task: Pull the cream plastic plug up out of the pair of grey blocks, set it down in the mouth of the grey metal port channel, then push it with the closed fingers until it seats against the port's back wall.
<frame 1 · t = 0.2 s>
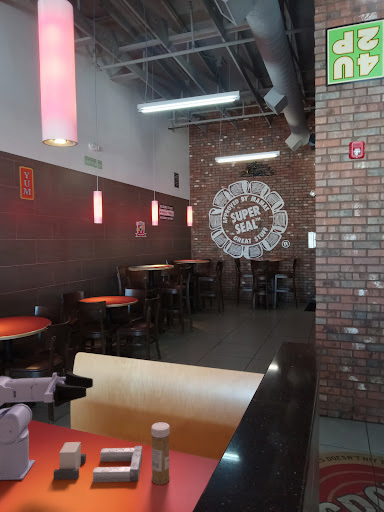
hand: (89, 387, 96), 21 cm above the table, tool horizontal, fingers open, 7 cm apart
pair of grey blocks: (70, 469, 96), on the table
sprinkles bottle: (160, 480, 92), on the table
plug: (70, 470, 96), on the table
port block: (117, 468, 96), on the table
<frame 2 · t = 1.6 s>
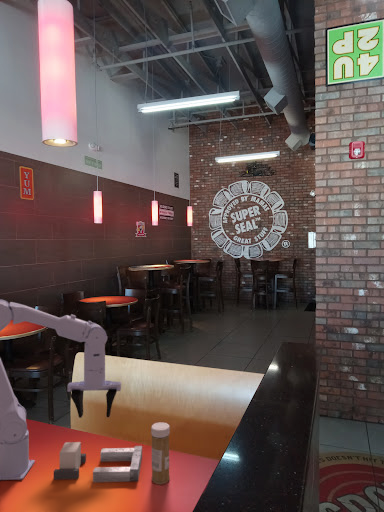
hand: (94, 415, 104), 10 cm above the table, tool pointing down, fingers open, 7 cm apart
nothing on the table moved.
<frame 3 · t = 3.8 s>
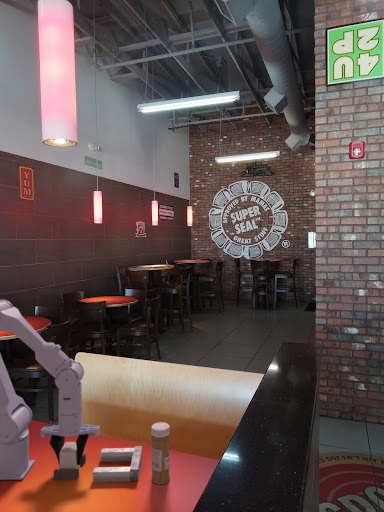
hand: (70, 463, 96), 2 cm above the table, tool pointing down, fingers closed on plug, 4 cm apart
plug: (70, 469, 96), on the table, touching gripper
everything else where it was.
when the fingers open (3 cm above the table, at t = 9.0 s): plug drops 1 cm, on the table.
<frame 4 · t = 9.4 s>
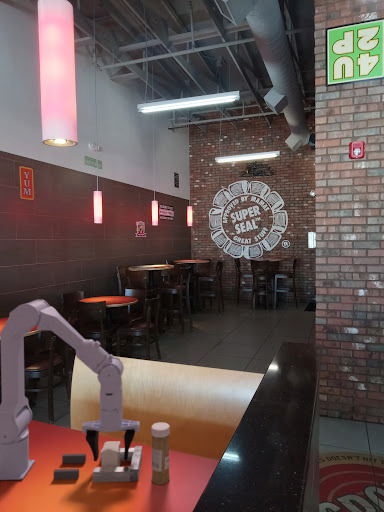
hand: (111, 458, 96), 3 cm above the table, tool pointing down, fingers open, 7 cm apart
plug: (111, 469, 96), on the table
everything else where it was.
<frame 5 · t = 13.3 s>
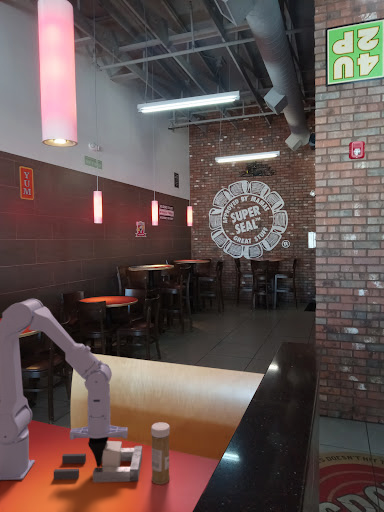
hand: (99, 464, 96), 1 cm above the table, tool pointing down, fingers closed
plug: (111, 469, 96), on the table, touching gripper
everything else where it was.
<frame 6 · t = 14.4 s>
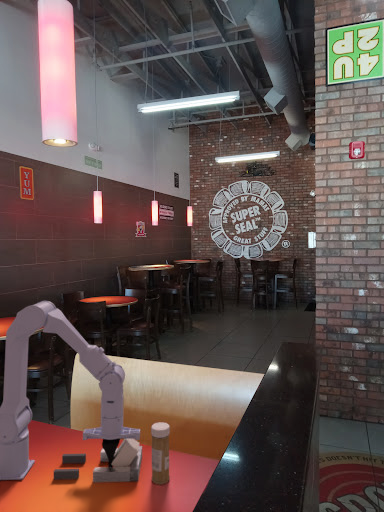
hand: (111, 466, 96), 1 cm above the table, tool pointing down, fingers closed, pressing on plug
plug: (119, 463, 96), point 1 cm above the table, tilted 33°, touching gripper, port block
everything else where it was.
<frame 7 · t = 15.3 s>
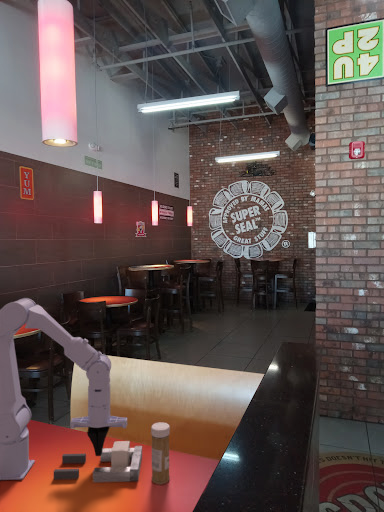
hand: (98, 454, 98), 3 cm above the table, tool pointing down, fingers closed
plug: (120, 469, 96), on the table
everything else where it was.
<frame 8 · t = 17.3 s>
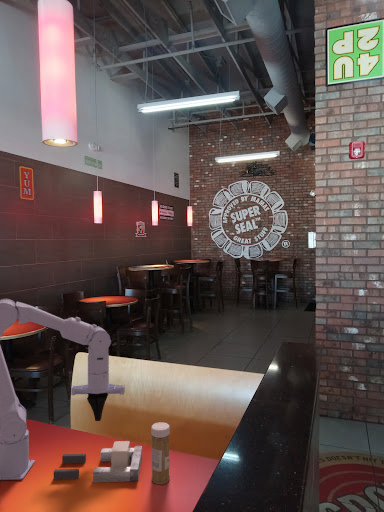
hand: (98, 419, 104), 9 cm above the table, tool pointing down, fingers closed
nothing on the table moved.
at the end: plug 0.5 cm from the target spot on the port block, point 0.0 cm above the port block's base; plug tilted 0°; the gripper is holding nothing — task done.
